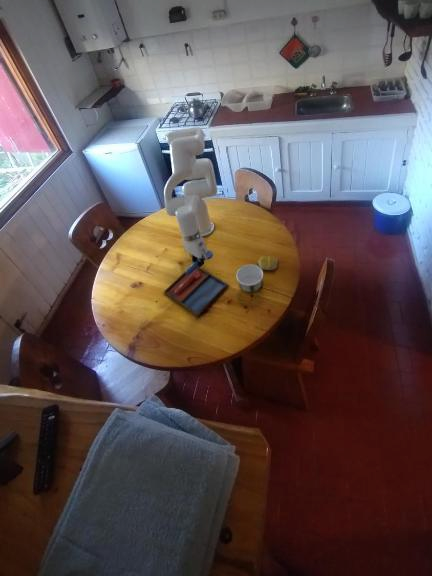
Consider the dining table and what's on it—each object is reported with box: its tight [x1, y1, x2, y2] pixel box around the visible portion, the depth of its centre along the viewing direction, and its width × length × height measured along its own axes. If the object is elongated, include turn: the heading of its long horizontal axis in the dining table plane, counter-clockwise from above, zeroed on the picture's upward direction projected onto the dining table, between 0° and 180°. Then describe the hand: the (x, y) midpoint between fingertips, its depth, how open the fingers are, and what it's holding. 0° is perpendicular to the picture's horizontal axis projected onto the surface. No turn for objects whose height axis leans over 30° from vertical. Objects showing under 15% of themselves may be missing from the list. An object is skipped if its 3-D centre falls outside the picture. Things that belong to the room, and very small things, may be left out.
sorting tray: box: [163, 266, 229, 318], centre depth 160 cm, size 22×20×2 cm
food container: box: [235, 264, 264, 293], centre depth 156 cm, size 12×12×6 cm
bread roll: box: [257, 255, 279, 271], centre depth 164 cm, size 8×9×4 cm
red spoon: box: [174, 271, 201, 295], centre depth 162 cm, size 16×4×2 cm, turn 139°
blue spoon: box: [184, 250, 214, 275], centre depth 151 cm, size 16×4×2 cm, turn 139°
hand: (199, 263), depth 152 cm, fingers closed on blue spoon, 2 cm apart
